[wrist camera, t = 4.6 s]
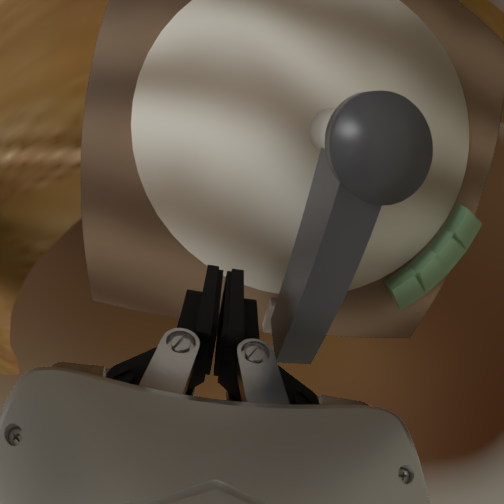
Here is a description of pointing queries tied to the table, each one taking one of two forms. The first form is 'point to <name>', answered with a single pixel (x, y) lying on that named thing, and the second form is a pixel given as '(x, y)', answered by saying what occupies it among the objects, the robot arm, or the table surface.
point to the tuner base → (276, 146)
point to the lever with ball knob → (346, 209)
